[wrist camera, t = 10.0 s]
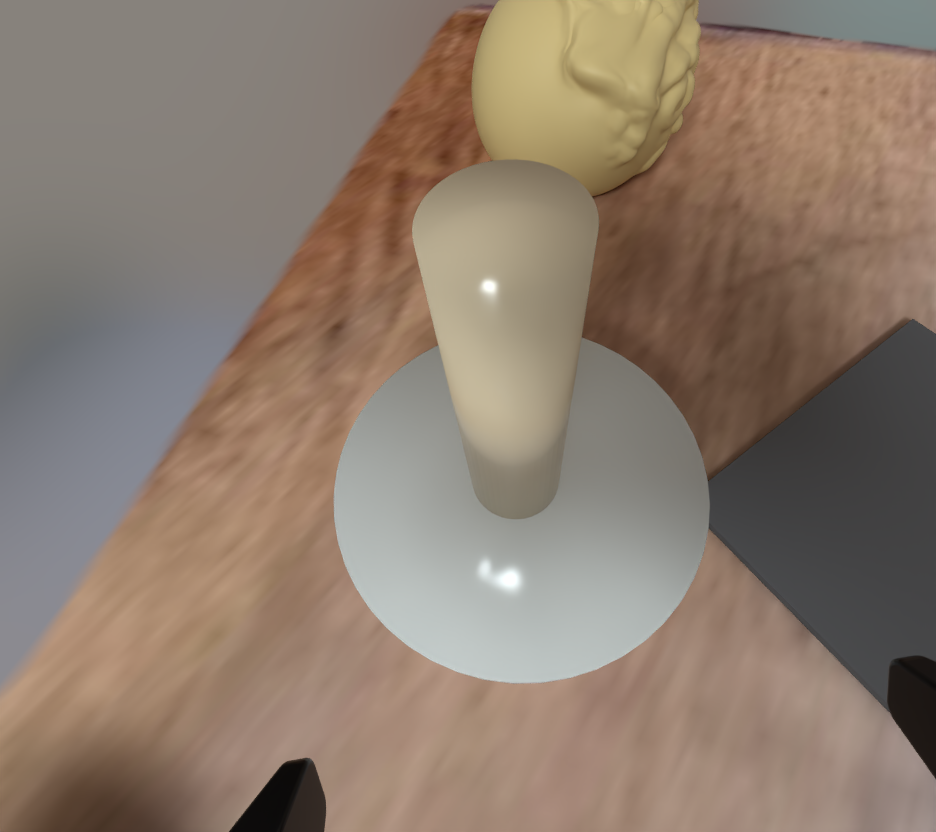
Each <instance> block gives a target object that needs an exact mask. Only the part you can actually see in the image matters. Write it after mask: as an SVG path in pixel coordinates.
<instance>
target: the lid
mask: <svg viewBox="0 0 936 832" xmlns="http://www.w3.org/2000/svg"><path fill="white" fill-rule="evenodd" d="M598 229H599V216H598V210H597V207H596V204H595V202H594V200H593V198H592V196H591V195H590V193H589V192H588V190H587V189H586V188H585V187H584V186H583V185H582V184H581V183H580V182H579V181H578V180H577V179H575V178H574V177H572V176H571V175H569V174H568V173H566V172H564V171H562V170H560V169H558V168H555V167H553V166H550V165H547V164H543V163H540V162H534V161H529V160H495V161H489V162H484V163H480V164H476V165H473V166H470V167H467V168H465V169H462V170H460V171H458V172H456V173H454V174H452V175H450V176H449V177H447V178H445V179H444V180H442V181H441V182H440V183H438V184H437V185H436V186H435V187H434V188H433V189H432V190H431V191H430V192H429V193H428V194H427V195H426V196H425V198H424V199H423V200H422V202H421V203H420V205H419V207H418V209H417V211H416V214H415V216H414V221H413V227H412V235H413V242H414V247H415V251H416V255H417V259H418V263H419V267H420V271H421V275H422V280H423V284H424V288H425V292H426V296H427V300H428V304H429V308H430V312H431V317H432V321H433V325H434V329H435V333H436V337H437V341H438V346H436V347H434V348H432V349H430V350H428V351H426V352H425V353H423V354H421V355H419V356H417V357H416V358H415V359H413V360H412V361H410V362H409V363H407V364H406V365H404V366H403V367H402V368H400V369H399V370H398V371H397V372H396V373H395V374H393V375H392V376H391V377H390V378H389V379H388V380H387V381H386V382H385V383H384V384H383V385H382V386H381V387H380V388H379V389H378V390H377V391H376V393H375V394H374V395H373V396H372V397H371V398H370V400H369V401H368V403H367V404H366V405H365V407H364V408H363V410H362V411H361V412H360V414H359V416H358V418H357V419H356V421H355V423H354V425H353V427H352V429H351V430H350V432H349V435H348V437H347V440H346V443H345V445H344V448H343V450H342V453H341V457H340V461H339V465H338V469H337V473H336V481H335V490H334V520H335V526H336V532H337V539H338V544H339V547H340V550H341V553H342V556H343V560H344V563H345V566H346V568H347V570H348V572H349V574H350V576H351V579H352V581H353V583H354V585H355V587H356V589H357V590H358V592H359V593H360V595H361V596H362V598H363V599H364V601H365V602H366V604H367V605H368V607H369V608H370V610H371V611H372V612H373V613H374V614H375V615H376V616H377V618H378V619H379V620H380V621H381V622H382V623H383V624H384V625H385V627H386V628H387V629H389V630H390V631H391V632H392V633H393V634H394V635H396V636H397V637H398V638H399V639H400V640H401V641H403V642H404V643H405V644H406V645H407V646H409V647H411V648H412V649H414V650H415V651H417V652H418V653H420V654H422V655H423V656H425V657H426V658H428V659H430V660H431V661H434V662H436V663H438V664H440V665H443V666H445V667H447V668H450V669H452V670H454V671H456V672H459V673H462V674H465V675H469V676H473V677H476V678H480V679H483V680H488V681H496V682H504V683H511V684H524V683H545V682H551V681H557V680H563V679H569V678H572V677H575V676H578V675H581V674H584V673H588V672H591V671H594V670H596V669H598V668H600V667H602V666H604V665H606V664H608V663H610V662H612V661H614V660H616V659H619V658H621V657H623V656H624V655H625V654H627V653H628V652H630V651H631V650H633V649H634V648H635V647H637V646H638V645H640V644H641V643H643V642H644V641H646V640H647V639H648V638H649V637H650V636H651V635H652V634H653V633H654V632H655V631H656V630H657V629H658V628H659V627H660V626H661V625H662V624H663V623H664V622H665V621H666V620H667V619H668V618H669V616H670V615H671V614H672V612H673V611H674V610H675V609H676V607H677V606H678V605H679V603H680V602H681V601H682V599H683V597H684V596H685V594H686V592H687V590H688V588H689V586H690V585H691V583H692V581H693V579H694V577H695V575H696V572H697V569H698V567H699V564H700V561H701V559H702V556H703V553H704V548H705V543H706V538H707V534H708V529H709V511H710V500H709V489H708V479H707V475H706V471H705V466H704V462H703V458H702V455H701V452H700V450H699V447H698V445H697V442H696V439H695V437H694V435H693V433H692V431H691V429H690V427H689V425H688V424H687V422H686V420H685V418H684V416H683V415H682V413H681V412H680V410H679V409H678V408H677V406H676V405H675V404H674V402H673V401H672V399H671V398H670V397H669V396H668V395H667V393H666V392H665V391H664V390H663V389H662V388H661V387H660V386H659V385H658V384H657V383H656V382H655V381H654V380H653V379H652V378H651V377H650V376H648V375H647V374H646V373H645V372H644V371H643V370H641V369H640V368H639V367H638V366H636V365H635V364H633V363H632V362H630V361H629V360H627V359H626V358H624V357H623V356H621V355H620V354H618V353H616V352H614V351H612V350H610V349H608V348H606V347H604V346H602V345H600V344H598V343H595V342H592V341H590V340H587V339H584V338H582V332H583V325H584V319H585V313H586V306H587V300H588V293H589V287H590V280H591V274H592V268H593V261H594V255H595V248H596V242H597V235H598Z"/></svg>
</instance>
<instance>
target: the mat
mask: <svg viewBox="0 0 936 832" xmlns="http://www.w3.org/2000/svg"><path fill="white" fill-rule="evenodd" d="M708 489H709V500H710V511H709V529H710V530H711V531H712V532H713V533H714V534H715V535H716V536H717V537H718V538H719V539H720V540H721V541H722V542H723V543H724V544H725V545H726V546H727V547H728V548H729V549H730V550H731V551H732V552H733V553H734V554H735V555H736V556H737V557H738V558H739V559H740V560H741V561H742V562H743V563H744V564H745V565H746V566H747V567H748V568H749V569H750V571H751V572H752V573H753V574H754V575H755V576H756V577H757V578H758V579H759V580H760V581H761V582H762V583H763V584H764V585H765V586H766V587H767V588H768V589H769V590H770V591H771V592H772V593H773V594H774V595H775V596H776V597H777V598H778V599H779V600H780V601H781V602H782V603H783V604H784V605H785V606H786V607H787V608H788V609H789V610H790V611H791V612H792V613H793V614H794V615H795V616H796V617H797V618H798V619H799V620H800V622H801V623H802V624H803V625H804V626H805V627H806V628H807V629H808V630H809V631H810V632H811V633H812V634H813V635H814V636H815V637H816V638H817V639H818V640H819V641H820V642H821V643H822V644H823V645H824V646H825V647H826V648H827V649H828V650H829V651H830V652H831V653H832V654H833V655H834V656H835V657H836V658H837V659H838V660H839V661H840V662H841V663H842V664H843V665H844V666H845V667H846V668H847V669H848V670H849V671H850V672H851V674H852V675H853V676H854V677H855V678H856V679H857V680H858V681H859V682H860V683H861V684H862V685H863V686H864V687H865V688H866V689H867V690H868V691H869V692H870V693H871V694H872V695H873V696H874V697H875V698H876V699H877V700H878V701H879V702H880V703H881V704H882V705H883V706H884V707H885V708H886V709H887V710H888V711H889V708H888V704H887V689H888V671H889V664H890V663H891V661H892V660H893V659H896V658H902V657H908V656H914V655H920V656H924V657H927V658H929V659H932V660H934V661H936V334H935V333H933V332H932V331H930V330H929V329H927V328H926V327H924V326H923V325H921V324H920V323H918V322H917V321H915V320H914V319H912V320H911V321H910V322H908V323H907V324H906V325H904V326H903V327H902V328H901V329H899V330H898V331H897V332H896V333H894V334H893V335H892V336H891V337H889V338H888V339H887V340H886V341H884V342H883V343H882V344H881V345H879V346H878V347H877V348H876V349H874V350H873V351H872V352H871V353H869V354H868V355H867V356H865V357H864V358H863V359H862V360H860V361H859V362H858V363H857V364H855V365H854V366H853V367H852V368H850V369H849V370H848V371H847V372H845V373H844V374H843V375H842V376H840V377H839V378H838V379H837V380H835V381H834V382H833V383H832V384H830V385H829V386H828V387H826V388H825V389H824V390H823V391H821V392H820V393H819V394H818V395H816V396H815V397H814V398H813V399H811V400H810V401H809V402H808V403H806V404H805V405H804V406H803V407H801V408H800V409H799V410H798V411H796V412H795V413H794V414H792V415H791V416H790V417H789V418H787V419H786V420H785V421H784V422H782V423H781V424H780V425H779V426H777V427H776V428H775V429H774V430H772V431H771V432H770V433H769V434H767V435H766V436H765V437H764V438H762V439H761V440H760V441H759V442H757V443H756V444H755V445H753V446H752V447H751V448H750V449H748V450H747V451H746V452H745V453H743V454H742V455H741V456H740V457H738V458H737V459H736V460H735V461H733V462H732V463H731V464H730V465H728V466H727V467H726V468H725V469H723V470H722V471H721V472H720V473H718V474H717V475H716V476H714V477H713V478H712V479H711V480H709V481H708ZM889 712H890V711H889Z"/></svg>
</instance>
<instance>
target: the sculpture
mask: <svg viewBox="0 0 936 832" xmlns="http://www.w3.org/2000/svg"><path fill="white" fill-rule="evenodd" d="M698 3H699V1H698V0H499V1H498V2H497V4H496V5H495V7H494V8H493V10H492V12H491V14H490V16H489V18H488V20H487V22H486V24H485V26H484V29H483V31H482V34H481V37H480V40H479V43H478V47H477V51H476V55H475V60H474V66H473V75H472V105H473V113H474V118H475V123H476V126H477V130H478V133H479V136H480V138H481V141H482V143H483V145H484V147H485V149H486V151H487V153H488V155H489V156H490V158H491V159H492V161H495V160H529V161H534V162H540V163H543V164H547V165H550V166H553V167H555V168H558V169H560V170H562V171H564V172H566V173H568V174H569V175H571V176H572V177H574V178H575V179H577V180H578V181H579V182H580V183H581V184H582V185H583V186H584V187H585V188H586V189H587V190H588V192H589V193H590V195H591V196H596V195H600V194H603V193H605V192H608V191H610V190H612V189H614V188H616V187H618V186H619V185H621V184H623V183H624V182H626V181H627V180H628V179H630V178H631V177H632V176H634V175H636V174H639V173H642V172H644V171H646V170H647V169H649V168H650V167H651V166H652V165H653V163H654V162H655V161H656V160H657V158H658V157H659V156H660V155H661V154H662V152H663V151H664V149H665V147H666V145H667V142H668V139H669V137H670V135H671V134H674V133H676V132H677V131H678V130H679V129H680V128H681V126H682V123H683V115H682V111H683V110H684V108H685V107H686V106H687V105H688V104H689V103H690V101H691V99H692V96H693V92H694V87H695V78H694V73H695V69H696V67H697V64H698V60H699V53H700V51H699V45H698V41H699V39H700V35H701V28H700V25H699V24H698V22H697V21H696V18H697V15H698Z"/></svg>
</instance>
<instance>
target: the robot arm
mask: <svg viewBox="0 0 936 832" xmlns="http://www.w3.org/2000/svg"><path fill="white" fill-rule="evenodd" d="M887 704H888V708H889V711H890V713H891V715H892V717H893V719H894V720H895V722H896V723H897V725H898V726H899V728H900V729H901V730H902V732H903V733H904V735H905V736H906V738H907V739H908V740H909V742H910V743H911V745H912V746H913V747H914V749H915V750H916V752H917V753H918V755H919V756H920V757H921V759H922V760H923V762H924V763H925V764H926V766H927V767H928V769H929V770H930V772H931V773H932V774H933V776H934V777H935V779H936V661H934V660H932V659H929V658H927V657H924V656H920V655H914V656H908V657H902V658H896V659H893V660H892V661H891V663H890V664H889V671H888V689H887ZM325 819H326V800H325V795H324V792H323V789H322V786H321V783H320V779H319V776H318V773H317V770H316V767H315V764H314V762H313V761H312V760H311V759H310V758H303V759H297V760H291V761H287V762H285V763H284V764H283V765H281V767H280V768H279V769H278V770H277V771H276V773H275V774H274V775H273V777H272V778H271V779H270V780H269V782H268V783H267V784H266V785H265V787H264V788H263V789H262V790H261V792H260V793H259V794H258V795H257V797H256V798H255V799H254V801H253V802H252V803H251V804H250V806H249V807H248V808H247V809H246V811H245V812H244V813H243V814H242V816H241V817H240V818H239V820H238V821H237V822H236V823H235V825H234V826H233V827H232V828H231V830H230V831H229V832H324V828H325Z"/></svg>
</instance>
